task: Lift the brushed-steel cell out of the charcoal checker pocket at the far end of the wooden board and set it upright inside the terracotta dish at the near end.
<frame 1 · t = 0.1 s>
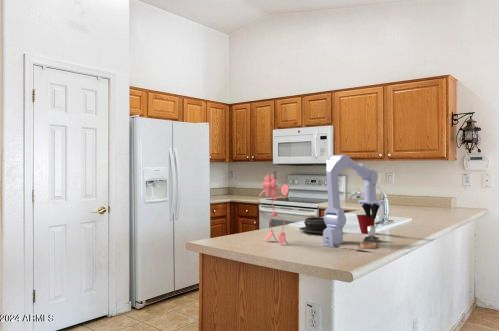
hand: (371, 218, 202), 11 cm above the counter, fingers open, 3 cm apart
steel cell: (371, 241, 186), point 2 cm above the counter, touching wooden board
figurine: (270, 244, 193), on the counter
casserole: (318, 233, 222), on the counter
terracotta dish: (368, 250, 172), resting on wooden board
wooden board: (370, 247, 179), on the counter
plastic cup: (367, 235, 209), on the counter, touching gripper
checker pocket: (371, 244, 186), resting on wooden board
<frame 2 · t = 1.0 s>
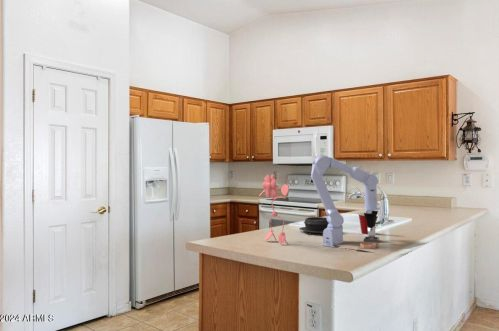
hand: (371, 226, 186), 8 cm above the counter, fingers open, 7 cm apart
plastic cup: (367, 236, 209), on the counter
everything else where it was.
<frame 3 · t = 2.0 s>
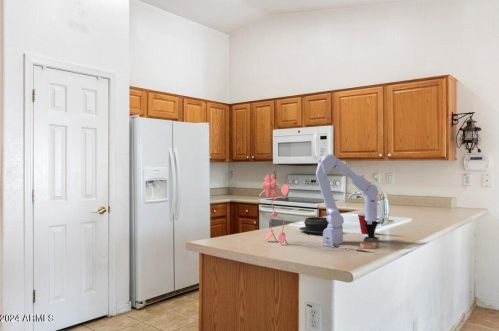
hand: (371, 237, 186), 3 cm above the counter, fingers closed on steel cell, 4 cm apart
steel cell: (371, 241, 186), point 2 cm above the counter, touching gripper, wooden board
everything else where it was.
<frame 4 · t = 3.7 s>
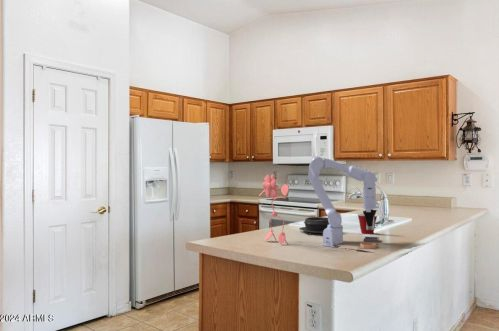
hand: (370, 225, 182), 10 cm above the counter, fingers closed on steel cell, 4 cm apart
steel cell: (370, 229, 182), point 8 cm above the counter, touching gripper
everything else where it was.
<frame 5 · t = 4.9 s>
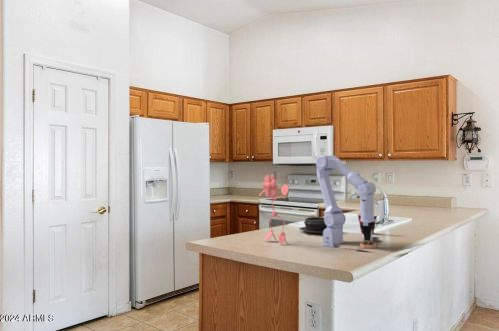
hand: (367, 239, 172), 5 cm above the counter, fingers closed on steel cell, 4 cm apart
steel cell: (368, 243, 172), point 3 cm above the counter, touching gripper
everything else where it was.
when the fingers open (4 cm above the counter, at t = 5.7 s): steel cell stays where it is, resting on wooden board.
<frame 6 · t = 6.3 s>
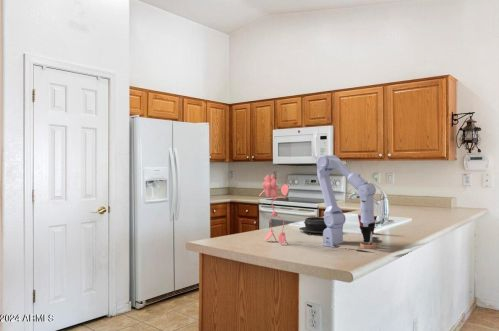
hand: (367, 240, 172), 4 cm above the counter, fingers open, 7 cm apart
steel cell: (368, 247, 172), point 1 cm above the counter, touching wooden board
everything else where it was.
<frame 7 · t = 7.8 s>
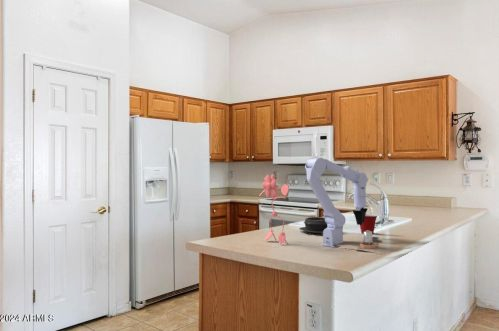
hand: (360, 223, 190), 9 cm above the counter, fingers open, 7 cm apart
nothing on the counter moved.
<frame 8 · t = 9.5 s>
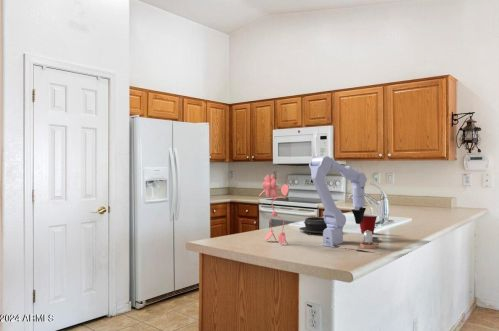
hand: (359, 222, 194), 9 cm above the counter, fingers open, 7 cm apart
nothing on the counter moved.
at the end: steel cell 0.1 cm off-centre on the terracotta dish, point 1.5 cm above the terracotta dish's base; steel cell tilted 0°; the gripper is holding nothing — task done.
